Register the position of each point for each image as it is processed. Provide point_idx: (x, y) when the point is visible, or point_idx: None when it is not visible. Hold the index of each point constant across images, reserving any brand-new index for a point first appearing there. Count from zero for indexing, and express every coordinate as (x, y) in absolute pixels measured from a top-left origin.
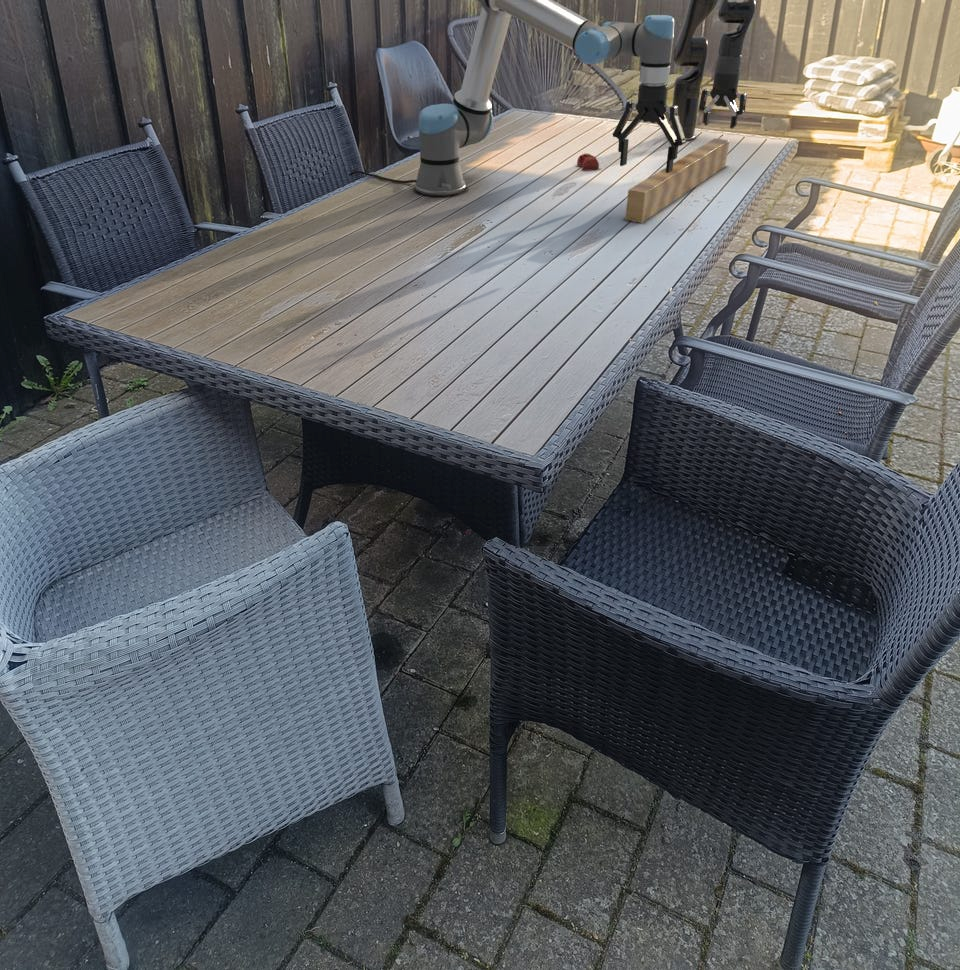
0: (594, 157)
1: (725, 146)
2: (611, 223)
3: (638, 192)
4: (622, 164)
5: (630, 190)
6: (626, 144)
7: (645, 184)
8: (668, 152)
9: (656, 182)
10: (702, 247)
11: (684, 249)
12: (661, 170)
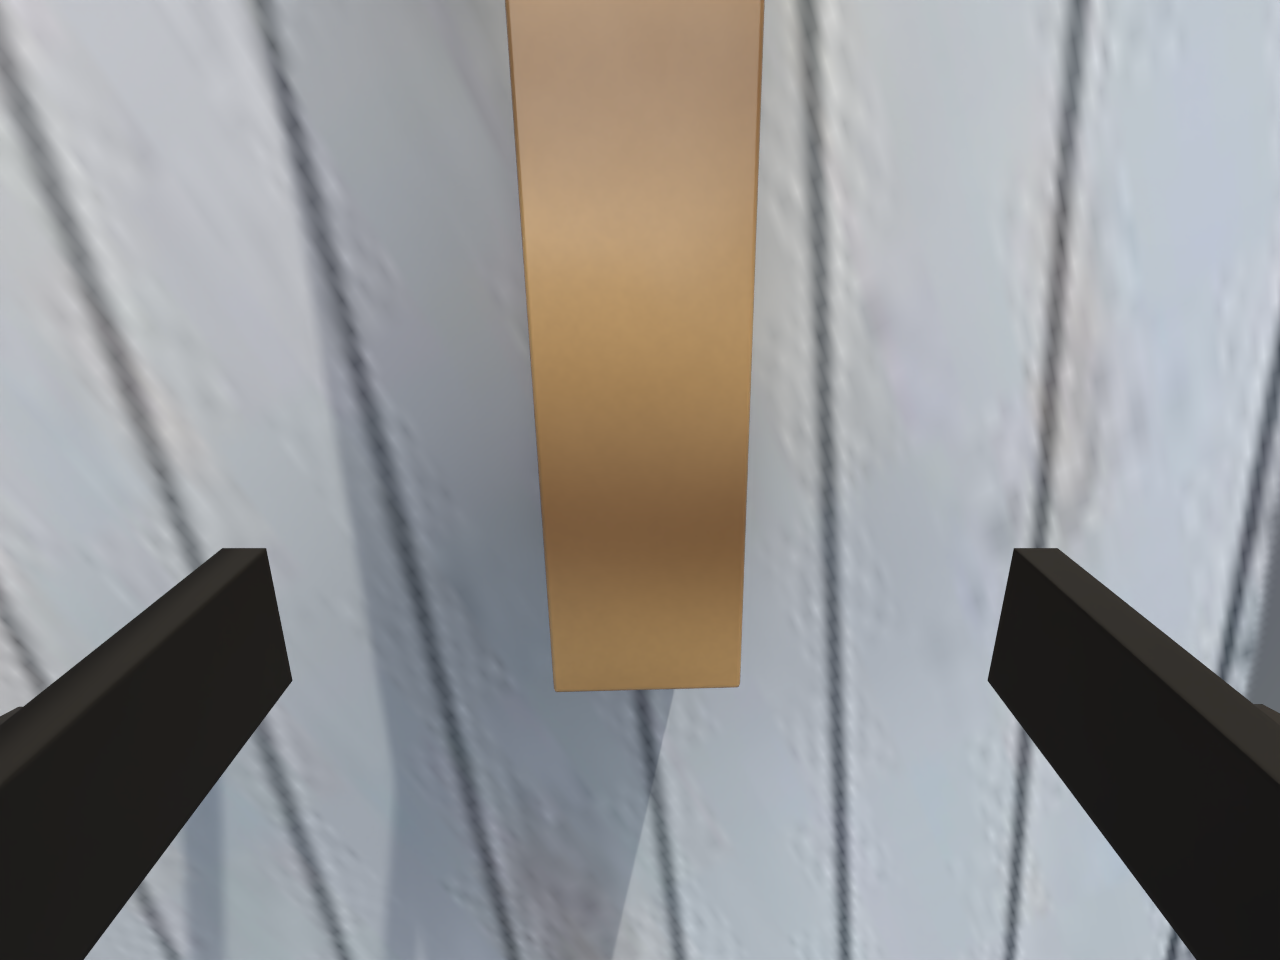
0: None
1: None
2: (531, 661)
3: (669, 686)
4: (280, 693)
5: (579, 690)
6: (38, 861)
7: (619, 433)
8: (1204, 950)
9: (700, 281)
10: None
11: None
12: None
